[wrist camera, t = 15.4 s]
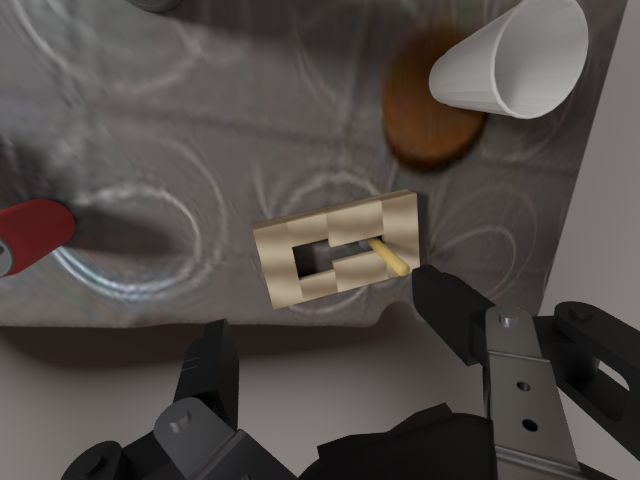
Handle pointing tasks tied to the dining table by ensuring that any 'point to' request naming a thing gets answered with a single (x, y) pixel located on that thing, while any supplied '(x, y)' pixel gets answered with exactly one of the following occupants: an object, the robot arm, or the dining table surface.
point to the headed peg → (385, 254)
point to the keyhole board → (339, 228)
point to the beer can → (32, 233)
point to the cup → (516, 61)
